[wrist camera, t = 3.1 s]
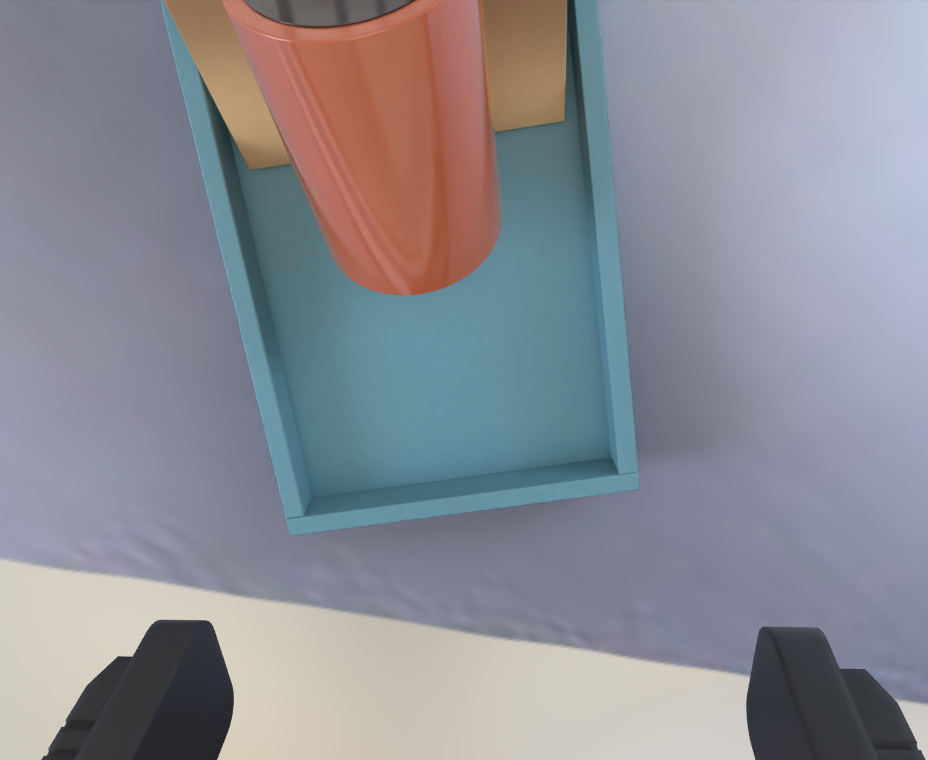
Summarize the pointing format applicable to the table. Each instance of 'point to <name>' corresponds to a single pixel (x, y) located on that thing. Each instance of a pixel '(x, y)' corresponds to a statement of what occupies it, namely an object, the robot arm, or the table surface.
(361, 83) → the orange cylinder
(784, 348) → the table surface
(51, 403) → the table surface
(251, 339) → the tray
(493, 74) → the wooden stand
